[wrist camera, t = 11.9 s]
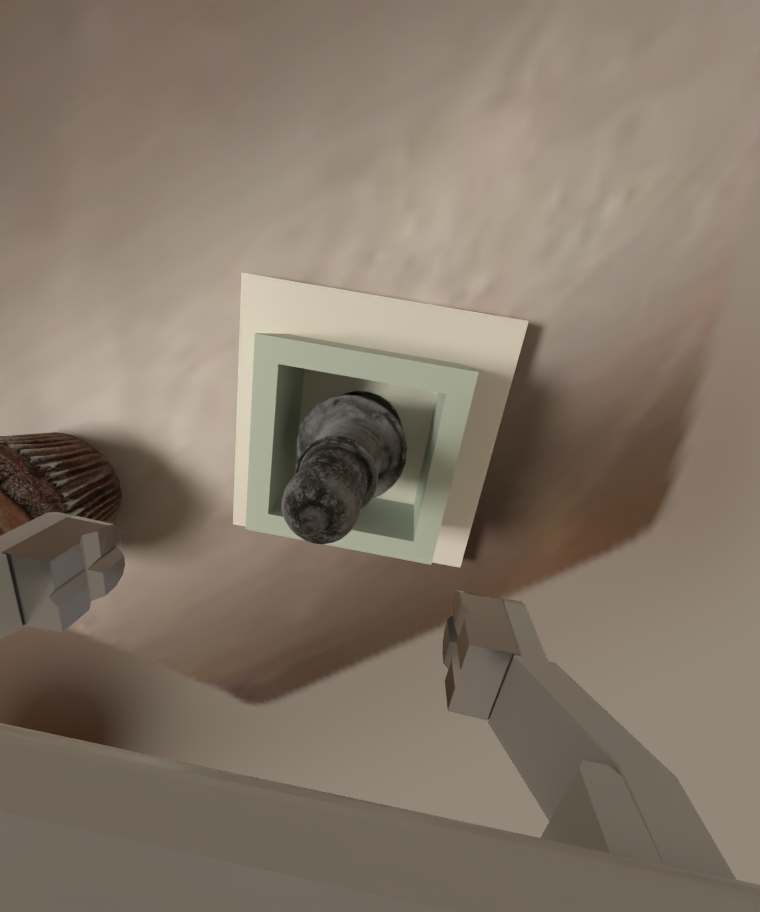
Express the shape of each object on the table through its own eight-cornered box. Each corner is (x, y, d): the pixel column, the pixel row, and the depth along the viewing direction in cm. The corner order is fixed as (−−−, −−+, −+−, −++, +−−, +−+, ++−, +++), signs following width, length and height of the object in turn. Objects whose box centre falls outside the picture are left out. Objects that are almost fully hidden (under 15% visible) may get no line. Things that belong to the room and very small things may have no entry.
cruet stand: (250, 276, 21) (195, 255, 16) (522, 321, 21) (560, 317, 15) (240, 516, 26) (196, 562, 21) (458, 557, 26) (470, 615, 21)
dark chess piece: (417, 396, 21) (422, 464, 10) (397, 486, 23) (381, 628, 12) (320, 376, 22) (217, 421, 10) (308, 467, 24) (209, 590, 12)
